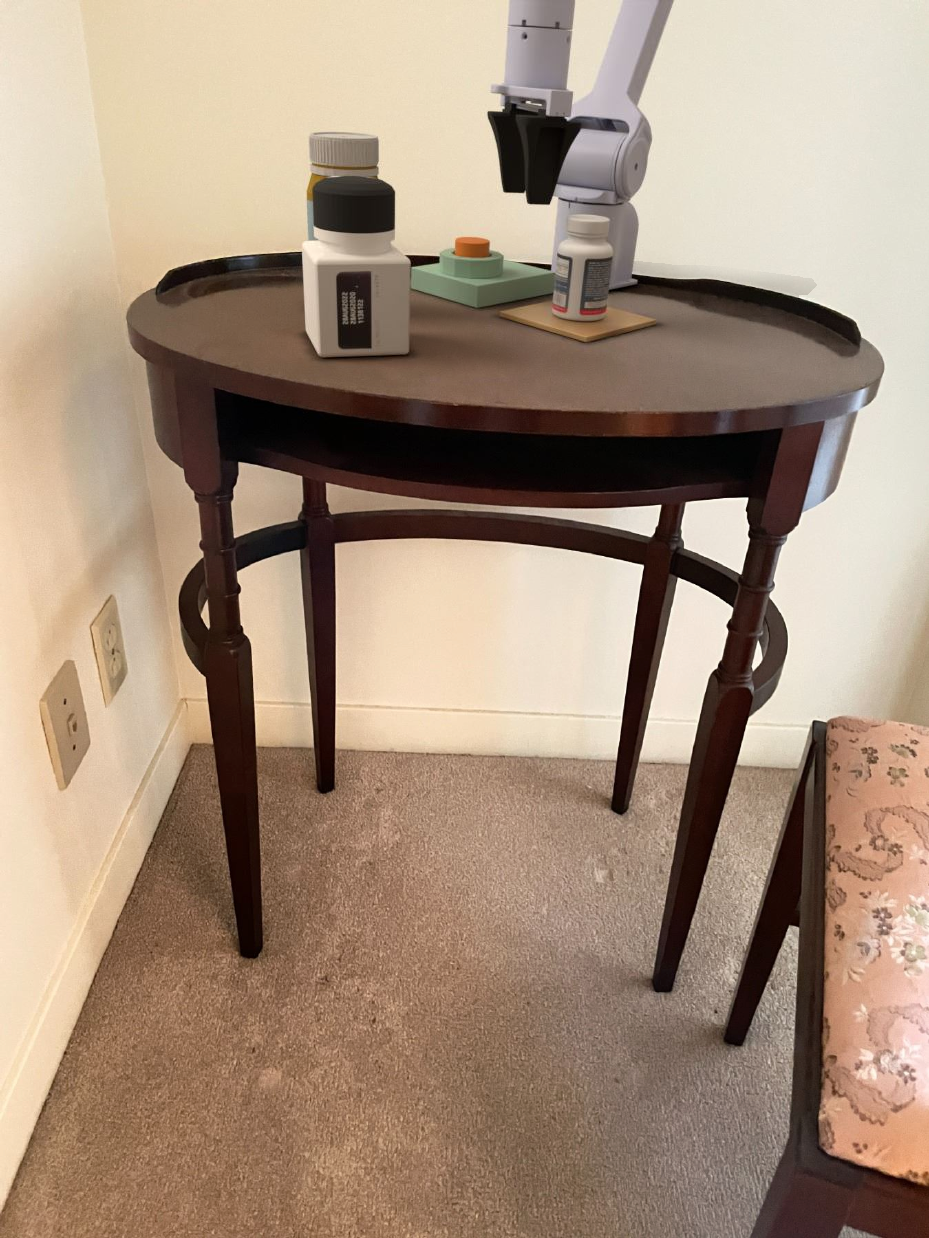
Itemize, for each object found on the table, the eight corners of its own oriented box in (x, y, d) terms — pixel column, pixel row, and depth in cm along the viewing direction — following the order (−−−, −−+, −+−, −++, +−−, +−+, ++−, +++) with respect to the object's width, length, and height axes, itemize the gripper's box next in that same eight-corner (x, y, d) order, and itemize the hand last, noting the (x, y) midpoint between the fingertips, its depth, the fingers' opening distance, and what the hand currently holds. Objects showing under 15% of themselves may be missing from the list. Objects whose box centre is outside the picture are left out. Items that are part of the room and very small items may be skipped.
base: (488, 275, 103) (490, 238, 101) (553, 293, 98) (557, 254, 95) (410, 288, 96) (411, 249, 94) (477, 308, 90) (479, 266, 88)
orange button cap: (471, 253, 96) (472, 235, 95) (495, 259, 94) (497, 241, 93) (447, 256, 94) (448, 238, 93) (471, 262, 92) (472, 244, 91)
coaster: (569, 301, 95) (570, 296, 94) (655, 324, 88) (656, 319, 88) (498, 316, 88) (499, 311, 88) (586, 342, 82) (586, 337, 81)
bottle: (371, 320, 84) (370, 141, 76) (301, 313, 85) (292, 135, 77) (391, 304, 90) (392, 135, 82) (325, 297, 91) (319, 129, 83)
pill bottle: (610, 313, 89) (622, 216, 84) (599, 325, 85) (612, 224, 80) (558, 306, 91) (568, 211, 86) (545, 318, 86) (554, 218, 82)
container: (410, 355, 75) (413, 185, 68) (318, 359, 73) (311, 184, 66) (390, 331, 82) (390, 173, 75) (305, 333, 80) (297, 171, 73)
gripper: (474, 26, 84) (466, 187, 91) (522, 24, 72) (508, 208, 79) (545, 32, 85) (531, 188, 92) (603, 30, 73) (582, 210, 81)
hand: (525, 198), depth 86 cm, fingers open, 7 cm apart
